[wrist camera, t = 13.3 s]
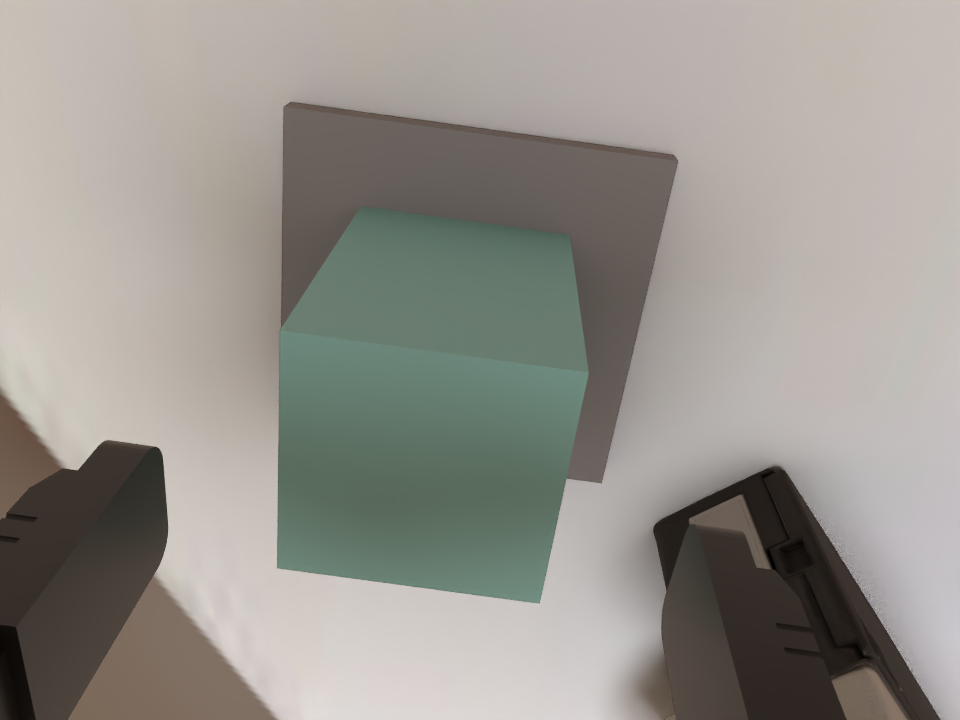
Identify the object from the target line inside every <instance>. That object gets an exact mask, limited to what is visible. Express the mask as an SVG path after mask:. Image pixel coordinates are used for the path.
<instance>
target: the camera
mask: <svg viewBox="0 0 960 720" xmlns="http://www.w3.org/2000/svg"><path fill="white" fill-rule="evenodd" d="M772 472H773V470H772V469H766V470H764V471H762V472H760V473H758V474H755V475H753V476H751V477H749V478H746V479H744V480H742V481H740V482H738V483H735V484H733V485H731V486H729V487H727V488H725V489H723V490H721V491H719V492H717V493H715V494H713V495H711V496H708V497H706V498H704V499H702V500H700V501H698V502H696V503H694V504H692V505H690V506H688V507H686V508H684V509H682V510H680V511H678V512H677V513H675V514H673V515H671V516H669V517H667V518H665V519H663V520H661V521H660V522H658V523H657V524H656V525H655V527H654V535H655V539H656V542H657V547H658V552H659V557H660V561H661V566H662V571H663V576H664V580H665V585H666V590H667V589H668V586H669V583H670V580H671V577H672V573H673V570H674V567H675V564H676V561H677V558H678V555H679V552H680V548H681V545H682V542H683V539H684V536H685V533H686V531H687V529H688V527H689V526H690V525H691V524H698V525H705V526H712V527H719V528H727V529H734V530H740V531H742V532H743V533H744V534H745V536H746V538H747V541H748V544H749V547H750V550H751V553H752V556H753V559H754V562H755V565H756V567H757V568H764V569H771V570H776V571H777V573H778V574H779V575H780V576H781V577H782V578H783V580H784V581H785V582H786V583H787V584H788V585H789V587H790V588H791V589H792V590H793V591H794V592H795V593H796V595H797V596H798V597H799V598H800V601H801V603H802V606H803V609H804V611H805V614H806V616H807V619H808V621H809V624H810V627H811V629H810V632H811V633H812V634H814V637H815V639H816V642H817V645H818V647H819V650H820V658H821V659H823V660H824V663H825V665H826V668H827V670H828V673H829V675H830V678H831V681H832V683H833V686H834V688H835V691H836V693H837V696H838V699H839V701H840V704H841V706H842V709H843V711H844V714H845V717H846V719H847V720H940V718H939V717H938V715H937V713H936V712H935V710H934V709H933V707H932V705H931V704H930V702H929V701H928V699H927V697H926V696H925V694H924V693H923V691H922V689H921V688H920V686H919V684H918V683H917V681H916V679H915V678H914V676H913V675H912V673H911V671H910V670H909V668H908V666H907V665H906V663H905V661H904V660H903V658H902V656H901V655H900V653H899V651H898V650H897V648H896V646H895V645H894V643H893V641H892V640H891V638H890V636H889V635H888V633H887V631H886V630H885V628H884V627H883V625H882V623H881V622H880V620H879V618H878V617H877V615H876V614H875V612H874V610H873V609H872V607H871V605H870V604H869V602H868V601H867V599H866V597H865V596H864V594H863V593H862V591H861V589H860V588H859V586H858V585H857V583H856V581H855V580H854V578H853V577H852V575H851V573H850V572H849V570H848V569H847V567H846V566H845V564H844V562H843V561H842V559H841V558H840V556H839V554H838V553H837V551H836V550H835V548H834V546H833V545H832V543H831V542H830V540H829V539H828V537H827V536H826V534H825V533H824V531H823V529H822V528H821V526H820V525H819V523H818V522H817V520H816V518H815V517H814V515H813V514H812V512H811V511H810V509H809V507H808V506H807V504H806V503H805V501H804V500H803V498H802V496H801V495H800V493H799V492H798V490H797V489H796V487H795V485H794V484H793V482H792V481H791V479H790V478H789V476H788V475H787V473H786V472H785V471H783V470H780V471H778V472H775V473H774V472H773V474H772ZM665 720H676V717H675V714H673V715H672V716H670V717H668V718H666V719H665Z"/></svg>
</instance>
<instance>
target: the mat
mask: <svg viewBox="0 0 960 720" xmlns="http://www.w3.org/2000/svg"><path fill="white" fill-rule="evenodd" d="M677 164H678V160H677V159H676V157H675V156H674V155H669V154H662V153H655V152H647V151H640V150H633V149H626V148H618V147H611V146H604V145H597V144H589V143H582V142H575V141H568V140H560V139H553V138H546V137H539V136H531V135H524V134H517V133H510V132H503V131H495V130H488V129H481V128H474V127H466V126H459V125H452V124H445V123H437V122H430V121H423V120H416V119H408V118H401V117H394V116H387V115H379V114H372V113H365V112H358V111H351V110H343V109H336V108H329V107H322V106H314V105H307V104H300V103H293V102H290V103H289V104H287V105H286V106H284V118H283V209H282V299H281V328H282V326H283V325H284V323H285V322H286V320H287V319H288V317H289V316H290V314H291V313H292V311H293V310H294V308H295V306H296V305H297V303H298V302H299V300H300V299H301V297H302V296H303V294H304V293H305V291H306V290H307V288H308V287H309V285H310V284H311V282H312V281H313V279H314V277H315V276H316V274H317V273H318V271H319V270H320V268H321V267H322V265H323V264H324V262H325V261H326V259H327V258H328V256H329V255H330V253H331V252H332V250H333V248H334V247H335V245H336V244H337V242H338V241H339V239H340V238H341V236H342V235H343V233H344V232H345V230H346V229H347V227H348V226H349V224H350V222H351V221H352V219H353V218H354V216H355V215H356V213H357V212H358V210H359V209H360V207H361V206H365V207H372V208H379V209H387V210H394V211H401V212H408V213H416V214H423V215H430V216H437V217H444V218H452V219H459V220H466V221H473V222H481V223H488V224H495V225H502V226H510V227H517V228H524V229H531V230H539V231H546V232H553V233H560V234H567V235H570V241H571V248H572V255H573V262H574V269H575V277H576V284H577V291H578V298H579V305H580V313H581V320H582V327H583V334H584V341H585V349H586V356H587V363H588V370H589V374H588V379H587V384H586V388H585V393H584V398H583V402H582V407H581V412H580V417H579V421H578V426H577V431H576V435H575V440H574V445H573V449H572V454H571V459H570V463H569V468H568V473H567V479H574V480H582V481H589V482H596V483H602V480H603V475H604V471H605V467H606V463H607V459H608V454H609V450H610V446H611V442H612V437H613V433H614V429H615V425H616V421H617V416H618V412H619V408H620V404H621V400H622V395H623V391H624V387H625V383H626V379H627V374H628V370H629V366H630V362H631V357H632V353H633V349H634V345H635V341H636V336H637V332H638V328H639V324H640V320H641V315H642V311H643V307H644V303H645V299H646V294H647V290H648V286H649V282H650V277H651V273H652V269H653V265H654V261H655V256H656V252H657V248H658V244H659V240H660V235H661V231H662V227H663V223H664V219H665V214H666V210H667V206H668V202H669V197H670V193H671V189H672V185H673V181H674V176H675V172H676V168H677Z"/></svg>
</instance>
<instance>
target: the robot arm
mask: <svg viewBox="0 0 960 720" xmlns="http://www.w3.org/2000/svg"><path fill="white" fill-rule="evenodd" d="M167 536H168V517H167V504H166V492H165V479H164V466H163V457H162V453H161V451H160V449H159V448H157V447H153V446H146V445H139V444H132V443H125V442H118V441H110V440H107V441H104V442H102V443H101V444H100V445H99V446H98V447H97V448H96V450H95V451H94V452H93V453H92V454H91V455H90V457H89V458H88V459H87V460H86V461H85V463H84V464H83V465H82V466H81V467H80V468H79V470H78V471H77V470H70V469H61V470H59V471H58V472H56V473H54V474H53V475H51V476H49V477H48V478H46V479H44V480H42V481H41V482H39V483H37V484H36V485H34V486H32V487H30V488H29V489H28V490H27V491H26V492H25V493H24V494H23V496H22V497H21V498H20V499H19V500H18V501H17V502H16V503H15V504H14V505H13V507H12V508H11V509H10V510H9V511H8V512H7V516H6V518H5V519H4V518H2V519H1V520H0V720H68V718H69V716H70V715H71V713H72V711H73V710H74V708H75V706H76V705H77V703H78V701H79V700H80V698H81V696H82V694H83V693H84V691H85V690H86V688H87V686H88V684H89V683H90V681H91V679H92V678H93V676H94V674H95V673H96V671H97V669H98V668H99V666H100V664H101V663H102V661H103V659H104V658H105V656H106V654H107V652H108V651H109V649H110V647H111V646H112V644H113V643H114V640H115V639H116V637H117V636H118V634H119V632H120V631H121V629H122V627H123V626H124V624H125V622H126V620H127V619H128V617H129V616H130V614H131V612H132V611H133V609H134V607H135V605H136V604H137V602H138V601H139V599H140V597H141V596H142V594H143V592H144V590H145V589H146V587H147V585H148V584H149V582H150V580H151V579H152V577H153V575H154V574H155V572H156V570H157V569H158V567H159V565H160V562H161V560H162V557H163V554H164V551H165V547H166V543H167ZM810 629H811V627H810V624H809V621H808V619H807V616H806V614H805V611H804V609H803V606H802V603H801V601H800V598H799V597H798V596H797V595H796V593H795V592H794V591H793V590H792V589H791V588H790V587H789V585H788V584H787V583H786V582H785V581H784V580H783V578H782V577H781V576H780V575H779V574H778V573H777V571H776V570H771V569H764V568H757V567H756V565H755V562H754V559H753V556H752V553H751V550H750V547H749V544H748V541H747V538H746V536H745V534H744V533H743V532H742V531H740V530H734V529H727V528H719V527H712V526H705V525H698V524H691V525H690V526H689V527H688V529H687V531H686V533H685V536H684V539H683V542H682V545H681V548H680V552H679V555H678V558H677V561H676V564H675V567H674V570H673V573H672V577H671V580H670V583H669V586H668V589H667V592H666V595H665V599H664V604H663V610H662V623H661V630H662V642H663V648H664V653H665V659H666V665H667V671H668V676H669V682H670V688H671V694H672V700H673V705H674V711H675V717H676V720H847V719H846V717H845V714H844V711H843V709H842V706H841V704H840V701H839V699H838V696H837V693H836V691H835V688H834V686H833V683H832V681H831V678H830V675H829V673H828V670H827V668H826V665H825V663H824V660H823V659H821V658H820V650H819V647H818V645H817V642H816V639H815V637H814V634H812V633H811V632H810Z"/></svg>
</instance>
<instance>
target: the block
mask: <svg viewBox="0 0 960 720" xmlns="http://www.w3.org/2000/svg"><path fill="white" fill-rule="evenodd" d="M588 374H589V370H588V363H587V356H586V349H585V341H584V334H583V327H582V320H581V313H580V305H579V298H578V291H577V284H576V277H575V269H574V262H573V255H572V248H571V241H570V235H567V234H560V233H553V232H546V231H539V230H531V229H524V228H517V227H510V226H502V225H495V224H488V223H481V222H473V221H466V220H459V219H452V218H444V217H437V216H430V215H423V214H416V213H408V212H401V211H394V210H387V209H379V208H372V207H365V206H361V207H360V209H359V210H358V212H357V213H356V215H355V216H354V218H353V219H352V221H351V222H350V224H349V226H348V227H347V229H346V230H345V232H344V233H343V235H342V236H341V238H340V239H339V241H338V242H337V244H336V245H335V247H334V248H333V250H332V252H331V253H330V255H329V256H328V258H327V259H326V261H325V262H324V264H323V265H322V267H321V268H320V270H319V271H318V273H317V274H316V276H315V277H314V279H313V281H312V282H311V284H310V285H309V287H308V288H307V290H306V291H305V293H304V294H303V296H302V297H301V299H300V300H299V302H298V303H297V305H296V306H295V308H294V310H293V311H292V313H291V314H290V316H289V317H288V319H287V320H286V322H285V323H284V325H283V326H282V328H281V329H280V359H279V448H278V537H277V568H279V569H287V570H294V571H301V572H309V573H316V574H324V575H331V576H339V577H346V578H353V579H361V580H368V581H376V582H383V583H391V584H398V585H406V586H413V587H420V588H428V589H435V590H443V591H450V592H458V593H465V594H472V595H480V596H487V597H495V598H502V599H510V600H517V601H524V602H532V603H539V604H540V600H541V595H542V590H543V585H544V581H545V576H546V571H547V567H548V562H549V557H550V553H551V548H552V543H553V539H554V534H555V529H556V524H557V520H558V515H559V510H560V506H561V501H562V496H563V492H564V487H565V482H566V478H567V473H568V468H569V463H570V459H571V454H572V449H573V445H574V440H575V435H576V431H577V426H578V421H579V417H580V412H581V407H582V402H583V398H584V393H585V388H586V384H587V379H588Z"/></svg>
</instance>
